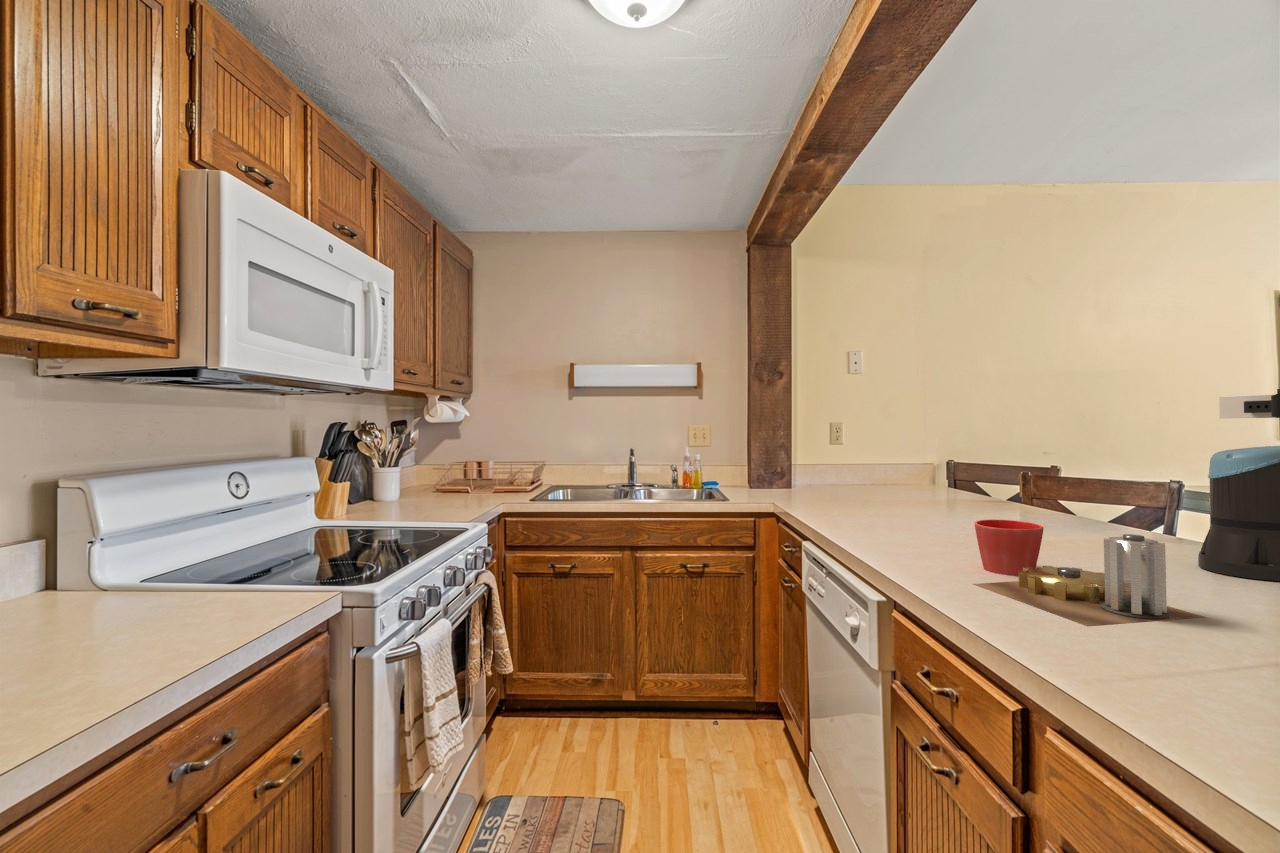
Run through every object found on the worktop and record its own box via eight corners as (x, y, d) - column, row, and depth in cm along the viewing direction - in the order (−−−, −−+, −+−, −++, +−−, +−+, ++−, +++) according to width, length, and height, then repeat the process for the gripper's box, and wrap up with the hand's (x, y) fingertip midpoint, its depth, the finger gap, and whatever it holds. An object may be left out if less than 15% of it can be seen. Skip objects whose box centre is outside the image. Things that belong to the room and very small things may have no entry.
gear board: (1069, 583, 105) (1069, 576, 105) (1206, 624, 83) (1206, 614, 83) (972, 589, 102) (972, 582, 102) (1087, 633, 80) (1087, 623, 80)
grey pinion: (1132, 601, 90) (1131, 530, 90) (1179, 614, 83) (1178, 538, 83) (1093, 603, 89) (1091, 532, 89) (1137, 618, 82) (1135, 541, 82)
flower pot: (1049, 586, 104) (1048, 530, 104) (977, 579, 108) (976, 526, 108) (1039, 572, 113) (1038, 521, 113) (973, 567, 118) (972, 518, 118)
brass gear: (1070, 578, 105) (1069, 558, 105) (1146, 600, 91) (1146, 577, 91) (999, 582, 103) (999, 562, 103) (1067, 605, 89) (1067, 582, 89)
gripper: (1432, 441, 54) (1184, 438, 75) (1635, 437, 58) (1345, 434, 79) (1431, 358, 54) (1183, 378, 75) (1634, 359, 58) (1344, 377, 79)
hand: (1265, 407), depth 77 cm, fingers open, 13 cm apart
